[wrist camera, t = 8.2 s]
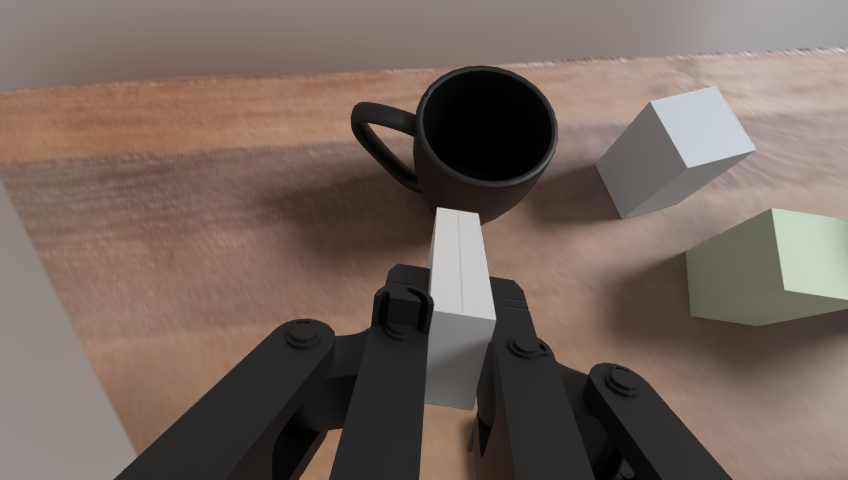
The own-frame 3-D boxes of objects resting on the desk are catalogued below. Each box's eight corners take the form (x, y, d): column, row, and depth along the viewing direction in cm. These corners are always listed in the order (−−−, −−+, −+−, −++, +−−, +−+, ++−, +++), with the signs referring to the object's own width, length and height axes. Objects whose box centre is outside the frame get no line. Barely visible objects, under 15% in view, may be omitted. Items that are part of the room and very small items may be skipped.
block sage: (749, 258, 33) (853, 217, 26) (758, 326, 31) (873, 303, 24) (685, 248, 33) (770, 204, 26) (690, 315, 31) (784, 290, 24)
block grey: (647, 148, 36) (714, 83, 28) (677, 204, 34) (756, 150, 27) (593, 162, 35) (648, 98, 28) (621, 219, 33) (687, 168, 26)
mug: (374, 131, 35) (367, 39, 26) (520, 161, 35) (564, 79, 26) (349, 224, 32) (331, 156, 23) (508, 256, 32) (553, 201, 23)
